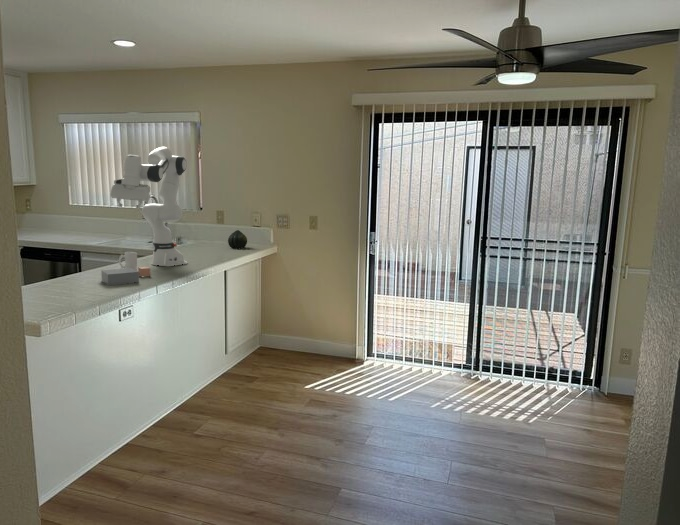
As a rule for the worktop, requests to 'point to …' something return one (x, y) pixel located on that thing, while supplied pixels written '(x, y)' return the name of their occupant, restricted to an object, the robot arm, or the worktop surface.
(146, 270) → the cube
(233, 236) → the squash
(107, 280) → the stand
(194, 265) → the worktop surface
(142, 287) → the worktop surface
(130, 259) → the mug
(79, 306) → the worktop surface
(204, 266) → the worktop surface
